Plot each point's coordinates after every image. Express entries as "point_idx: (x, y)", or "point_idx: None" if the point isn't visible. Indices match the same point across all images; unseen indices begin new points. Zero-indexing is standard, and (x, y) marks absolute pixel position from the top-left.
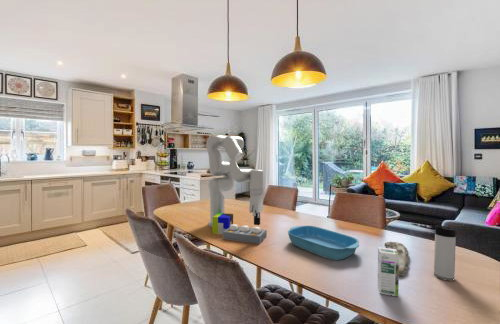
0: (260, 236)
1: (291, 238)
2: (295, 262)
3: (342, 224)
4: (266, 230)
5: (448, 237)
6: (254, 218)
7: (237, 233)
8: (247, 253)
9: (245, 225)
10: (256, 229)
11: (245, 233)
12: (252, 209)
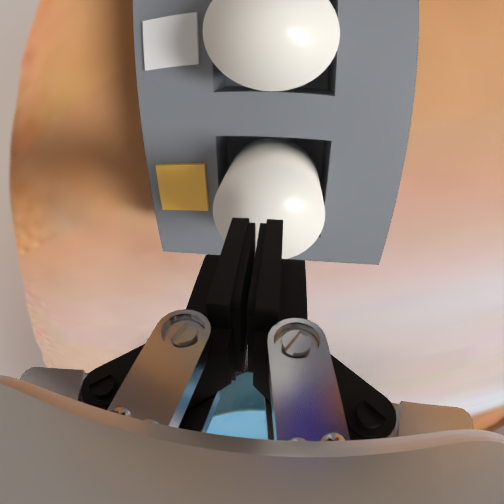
0: (183, 249)
1: (229, 394)
2: (103, 359)
3: (494, 414)
4: (376, 261)
5: None
6: (212, 300)
7: (138, 5)
8: (35, 197)
9: (333, 20)
10: (219, 226)
11: (176, 84)
12: (80, 501)
